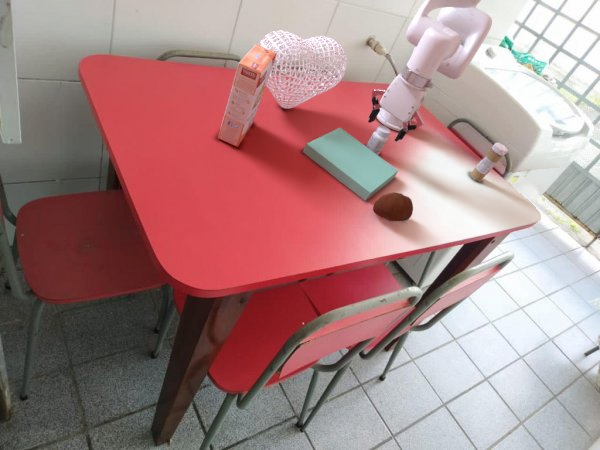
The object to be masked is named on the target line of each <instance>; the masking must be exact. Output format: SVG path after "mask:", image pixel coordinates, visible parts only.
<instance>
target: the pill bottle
mask: <svg viewBox="0 0 600 450" xmlns="http://www.w3.org/2000/svg"><path fill="white" fill-rule="evenodd" d="M390 134H391V129H390V128H388V127H386V126H385V125H383V124H379V125H378V126H377V128H376V130H374V131H373V132H372V134H371V136H370V138H369V140H368V141H367V143H366V145H365V146H366V147H367V148H369V149H370V150H371V151H373V152H374V153H375V154H377V155H378V156H380V154H381V152H382V150H383V149H384V147H385V145H386V144H387V142H388V140H389V137H390Z"/></svg>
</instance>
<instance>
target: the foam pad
mask: <svg viewBox="0 0 600 450" xmlns="http://www.w3.org/2000/svg"><path fill="white" fill-rule="evenodd" d="M302 153H303V154H305V155H306V156H307V157H308V158H309V159H311V160H312V161H313V162H314V163H316V164H317V165H318V166H320V167H321V168H322V169H324V170H325V171H326V172H327V173H329V174H330V175H331V176H333V177H334V178H335V179H336V180H337V181H339V182H340V183H342V184H343V185H344V186H346V187H347V188H348V189H349V190H350V191H352V192H353V193H354V194H355V195H357V197H360V198H361V199H362V200H363V201H365V202H366V201H368V200H369V199H370V198H371V197H373V196H374V195H375V194H376V193H378V192H379V191H380V190H381V189H382V188H384V187H385V186H386V185H388V183H390V182H391V181H392V180H394V178H395V177H396V175H397V174H398V172H399V170H398V169H397V168H396V167H394V166H393V165H392V164H391V163H389V162H387V161H386V160H385V159H384V158H383V157H381V156H380V155H377V154H375V153H374V152H373V151H371V150H370V149H369V148H367V147H366V145H365V144H363V143H362V142H360V141H359V140H358V139H357V138H355V137H354V136H353V135H351V134H350V133H349V132H347V131H346V130H345V129H343V128H341V127H338V128H336V129H334V130H332V131H329V132H327V133H325V134H323V135H321V136H319V137H318V138H315V139H313V140H311V141H309V142H307V143H306V144H305V147H304V149H303V151H302Z"/></svg>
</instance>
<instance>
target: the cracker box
mask: <svg viewBox="0 0 600 450" xmlns="http://www.w3.org/2000/svg"><path fill="white" fill-rule="evenodd" d="M276 55H277V54H276V51H274V52H273V51H272V50H271V49H270V50H269V49H267V48H264V47H262V46H260V45H259V43H256V44H255V45H253V47H252V48H251V49H249V51H248V52H247V53H246V55H244V56H243V58H242V59H241V60H240V61H238V64H237V68H236V71H235V75H234V78H233V81H232V86H231V90H230V92H229V96H228V100H227V104H226V107H225V111H224V115H223V117H222V122H221V125H220V129H219V132H218V136H217V140H220V141H223V142H224V143H228V144H230V145H231V146H233V147H236V148H238V147H239V146H240V144H241V143H242V141H243V139H244V138H245V136H246V135H247V133H248V132H249V130H250V129H251V127H252V125H253V124H254V121H255V118H256V115H257V112H258V110H259V107H260V104H261V101H262V98H263V96H264V93H265V89H266V88H267V87H266V84H267V81H268V79H269V75H270V72H271V69H273V68H272V67H273V65H275V64H274V63H275V61H276V59H275V58H276ZM277 56H278V55H277Z"/></svg>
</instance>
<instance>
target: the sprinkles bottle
mask: <svg viewBox="0 0 600 450" xmlns="http://www.w3.org/2000/svg"><path fill="white" fill-rule="evenodd" d="M507 152H508V147H507V146H506V145H504V144H502V143H500V142H495V143H494V144H493V145H492V146H491V148H490V149H489V151H488V152H487V153H486V154H485V155H484V156H483V157H482V159H481V160H480V161H479V162H478V163H477V165H475V167H474V168H473V170H472V171H471V172H470V173H469V176H470V177H471V178H472V180H474V181H476V182H478V183H479V182H482V181H483V180H484V178H485V177H486V176H487V175H488V174H489V173H490V172H491V170H493V169H494V167H495V166H496V165H497V163H498V162H499V161H500V160H501V159H502V157H504V156H505V155H506V154H507Z"/></svg>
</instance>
